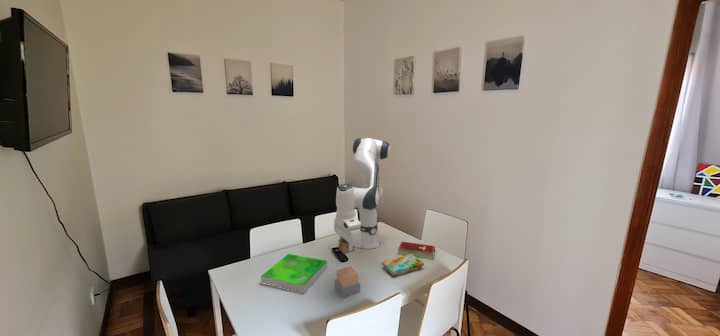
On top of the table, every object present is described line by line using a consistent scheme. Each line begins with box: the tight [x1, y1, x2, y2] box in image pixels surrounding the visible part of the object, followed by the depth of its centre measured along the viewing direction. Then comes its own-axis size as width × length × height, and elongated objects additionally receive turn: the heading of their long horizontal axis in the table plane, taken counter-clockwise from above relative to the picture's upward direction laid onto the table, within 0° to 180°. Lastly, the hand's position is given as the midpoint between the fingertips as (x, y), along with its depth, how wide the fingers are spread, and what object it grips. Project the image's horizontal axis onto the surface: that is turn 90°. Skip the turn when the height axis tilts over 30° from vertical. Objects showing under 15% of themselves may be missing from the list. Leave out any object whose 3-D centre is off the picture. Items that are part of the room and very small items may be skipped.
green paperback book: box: [260, 253, 329, 294], centre depth 156 cm, size 25×25×5 cm
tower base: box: [334, 278, 361, 299], centre depth 143 cm, size 9×9×5 cm
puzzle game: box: [381, 254, 425, 277], centre depth 163 cm, size 12×5×20 cm
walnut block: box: [338, 238, 356, 255], centre depth 138 cm, size 6×6×5 cm
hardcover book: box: [397, 241, 436, 260], centre depth 181 cm, size 12×21×4 cm, turn 71°
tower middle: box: [335, 266, 360, 288], centre depth 142 cm, size 8×8×5 cm
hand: (346, 247), depth 139 cm, fingers closed on walnut block, 5 cm apart
